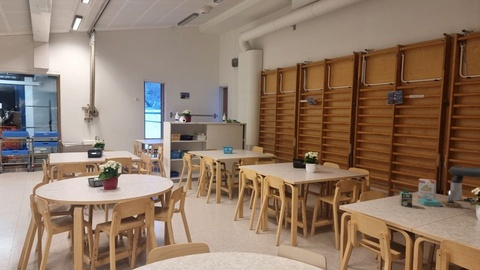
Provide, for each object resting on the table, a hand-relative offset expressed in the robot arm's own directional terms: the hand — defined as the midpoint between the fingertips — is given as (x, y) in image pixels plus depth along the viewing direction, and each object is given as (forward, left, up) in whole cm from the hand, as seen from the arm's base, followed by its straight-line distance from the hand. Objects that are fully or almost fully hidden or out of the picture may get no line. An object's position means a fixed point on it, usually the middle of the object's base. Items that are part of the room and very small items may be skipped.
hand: (465, 199), depth 287 cm
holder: (+9, -7, -8) cm, 14 cm away
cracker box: (+23, -25, -9) cm, 35 cm away
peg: (+9, -7, -8) cm, 14 cm away
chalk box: (+51, +2, -9) cm, 51 cm away
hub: (+27, -8, -8) cm, 29 cm away
